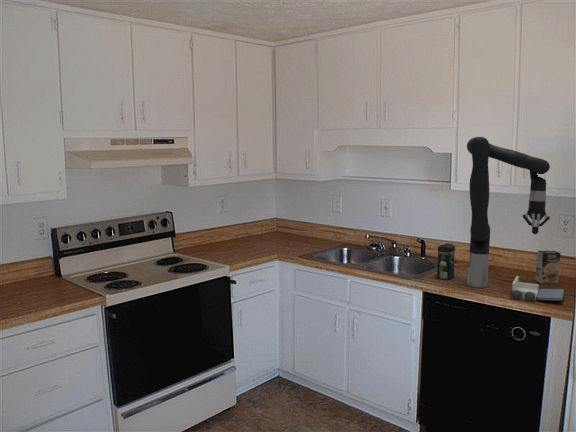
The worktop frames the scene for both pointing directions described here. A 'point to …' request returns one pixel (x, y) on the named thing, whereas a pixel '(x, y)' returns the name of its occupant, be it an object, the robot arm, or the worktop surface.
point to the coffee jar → (446, 261)
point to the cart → (524, 290)
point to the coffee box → (547, 266)
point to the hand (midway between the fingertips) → (535, 234)
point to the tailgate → (550, 294)
